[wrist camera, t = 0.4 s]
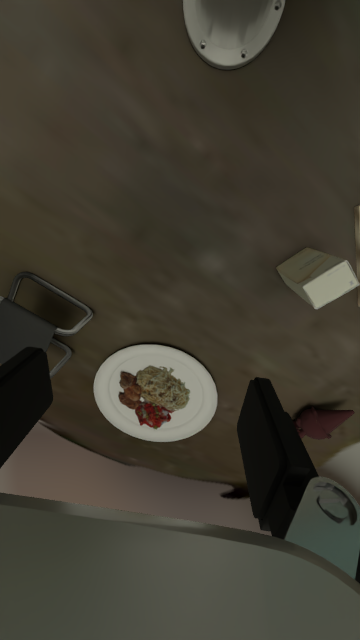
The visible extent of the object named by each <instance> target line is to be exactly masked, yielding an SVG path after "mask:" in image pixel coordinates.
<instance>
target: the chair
mask: <svg viewBox="0 0 360 640" xmlns="http://www.w3.org/2000/svg"><path fill="white" fill-rule="evenodd" d="M22 278H30V279H32V280H34V281H35V282H37V283H39V284H40V285H42V286H44V287H45V288H47V289H49V290H50V291H52V292H54V293H55V294H57V295H59V296H60V297H62V298H64V299H66V300H67V301H69V302H71V303H72V304H74V305H76V306H77V307H79V308H81V309H82V310H84V311H85V312H86V313H87V316H86V317H85V318H84V319H82V320H81V321H80V322H79V323H78V324H77V325H76V326H74V327H73V328H72V329H71V330H63V329H60V328H59V327H57V326H55V325H53V324H52V323H50V322H48V321H46V320H45V319H43V318H41V317H39V316H37V315H36V314H34V313H32V312H30V311H29V310H27V309H25V308H23V307H22V306H20V305H18V304H16V303H15V302H13V300H14V297H15V294H16V291H17V288H18V285H19V283H20V280H21V279H22ZM92 317H93V313H92V311H91V310H90V309H89V308H88V307H87V306H86V305H84V304H82V303H81V302H79V301H77V300H76V299H74V298H72V297H71V296H69V295H67V294H66V293H64V292H62V291H61V290H59V289H57V288H56V287H54V286H52V285H51V284H49V283H47V282H46V281H44V280H42V279H41V278H39V277H37V276H36V275H34V274H32V273H28V272H22V273H19V274H17V275H16V276H15V278H14V280H13V283H12V286H11V289H10V292H9V295H8V298H4V297H1V296H0V363H1V364H4V363H5V362H7V361H8V360H9V359H11V358H12V357H13V356H15V355H16V354H17V353H19V352H20V351H21V350H23V349H24V348H26V347H37V348H42V349H43V351H44V352H46V351H47V349H48V347H49V344H50V342H51V343H53V344H54V345H56V346H58V347H60V348H62V349H63V350H64V351H65V352H66V356H65V357H64V358H63V359H62V360H61V361H60V362H59V363H58V364H57V365H56V366H55V367H54V368H53V369H52V370H51V371H50V372H49V373H50V378H52V377H53V376H54V375H55V374H56V373H57V372H58V371H59V370H60V369H61V367H62V366H63V365H64V364H65V363H66V362H67V361H68V360H69V359H70V357H71V354H72V353H71V350H70V348H69V347H68V346H66V345H65V344H63V343H61V342H59V341H57V340H56V339H54V338H52V337H53V335H54V333H55V334H57V335H61V336H72V335H74V334H76V333H77V332H78V331H79V330H80V329H81V328H82V327H83V326H84V325H85V324H86V323H88V322H89V321H90V320H91V319H92Z"/></svg>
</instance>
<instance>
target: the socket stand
mask: <svg viewBox="0 0 360 640" xmlns="http://www.w3.org/2000/svg"><path fill="white" fill-rule="evenodd" d="M354 215H355V240H356V266H357V280H358V282H359V284H360V205H359V206H356V207H354ZM357 291H358V306H359V307H360V285H359V286H357Z"/></svg>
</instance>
